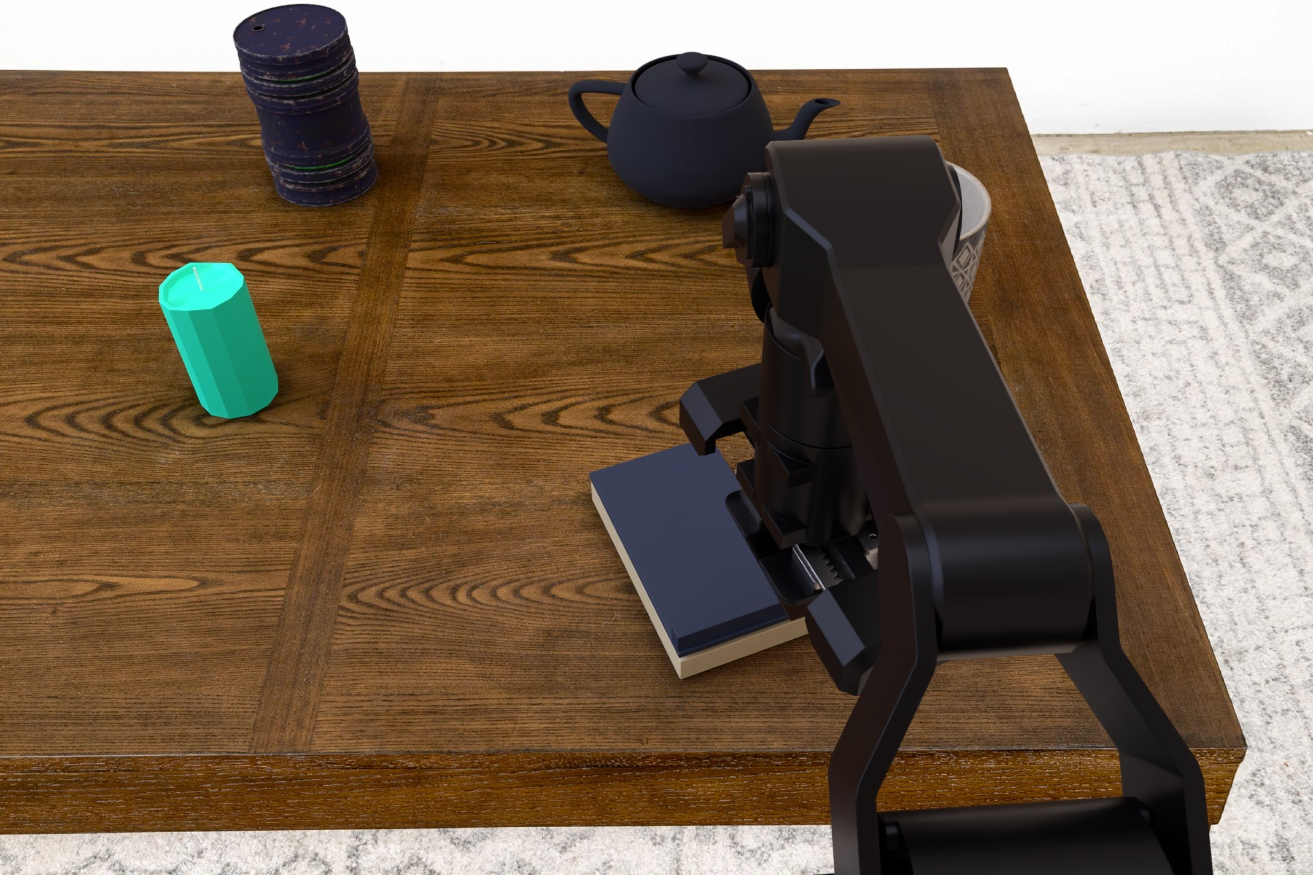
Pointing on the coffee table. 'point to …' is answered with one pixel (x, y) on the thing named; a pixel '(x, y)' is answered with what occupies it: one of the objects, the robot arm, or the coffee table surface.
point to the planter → (970, 230)
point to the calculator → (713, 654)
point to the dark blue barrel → (307, 103)
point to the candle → (219, 338)
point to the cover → (688, 546)
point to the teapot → (688, 128)
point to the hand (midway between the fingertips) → (796, 613)
